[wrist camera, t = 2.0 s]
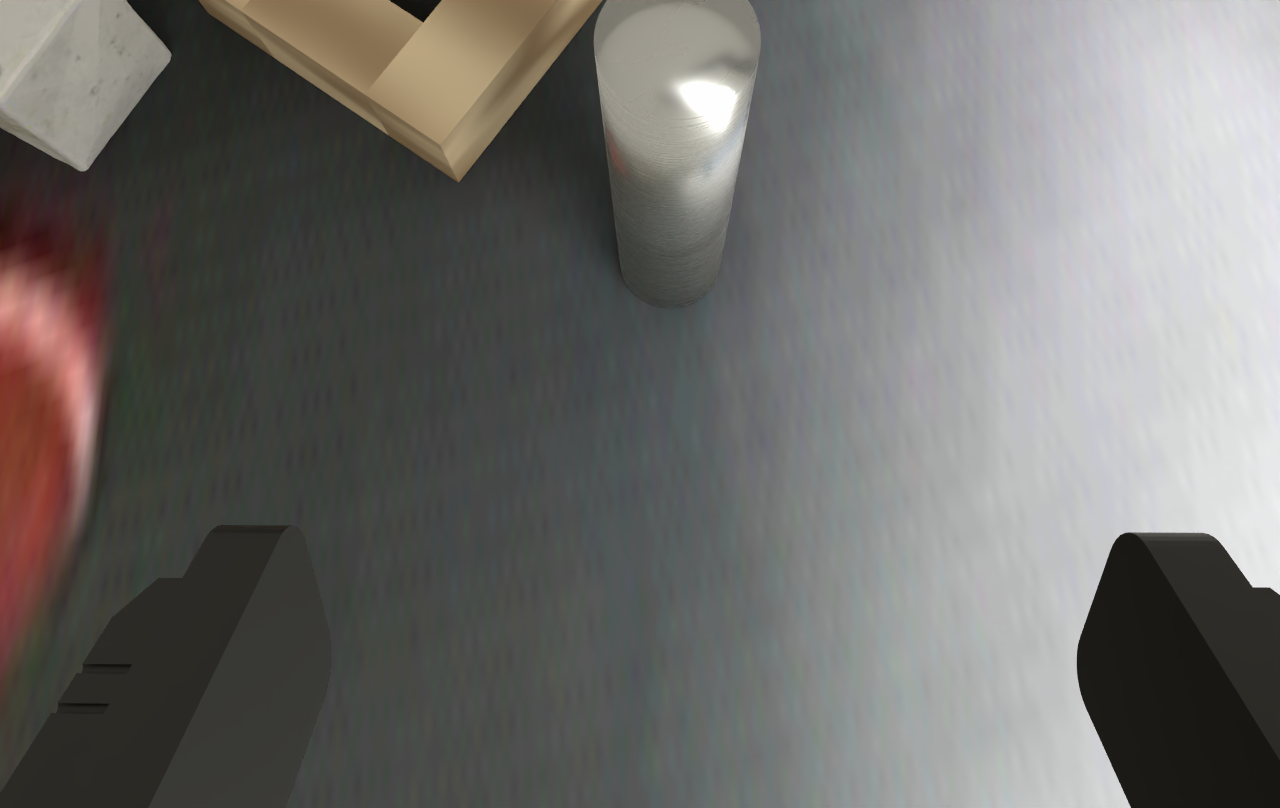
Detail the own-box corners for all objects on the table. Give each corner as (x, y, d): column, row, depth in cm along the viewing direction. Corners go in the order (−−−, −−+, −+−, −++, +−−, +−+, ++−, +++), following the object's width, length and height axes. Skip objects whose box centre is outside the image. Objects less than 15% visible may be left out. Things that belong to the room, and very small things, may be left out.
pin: (657, 194, 35) (656, -64, 21) (740, 248, 35) (793, 20, 21) (599, 271, 35) (560, 59, 21) (682, 327, 34) (698, 148, 20)
